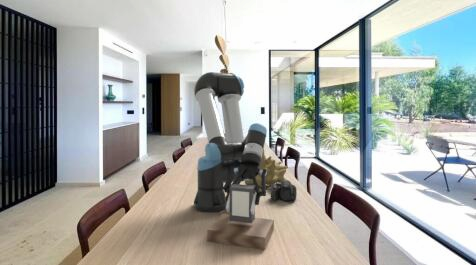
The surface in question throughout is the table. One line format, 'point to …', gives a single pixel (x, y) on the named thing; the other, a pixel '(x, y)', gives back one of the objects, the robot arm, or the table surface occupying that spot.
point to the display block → (241, 232)
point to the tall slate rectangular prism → (241, 203)
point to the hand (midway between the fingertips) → (239, 211)
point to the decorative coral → (270, 172)
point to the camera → (283, 191)
